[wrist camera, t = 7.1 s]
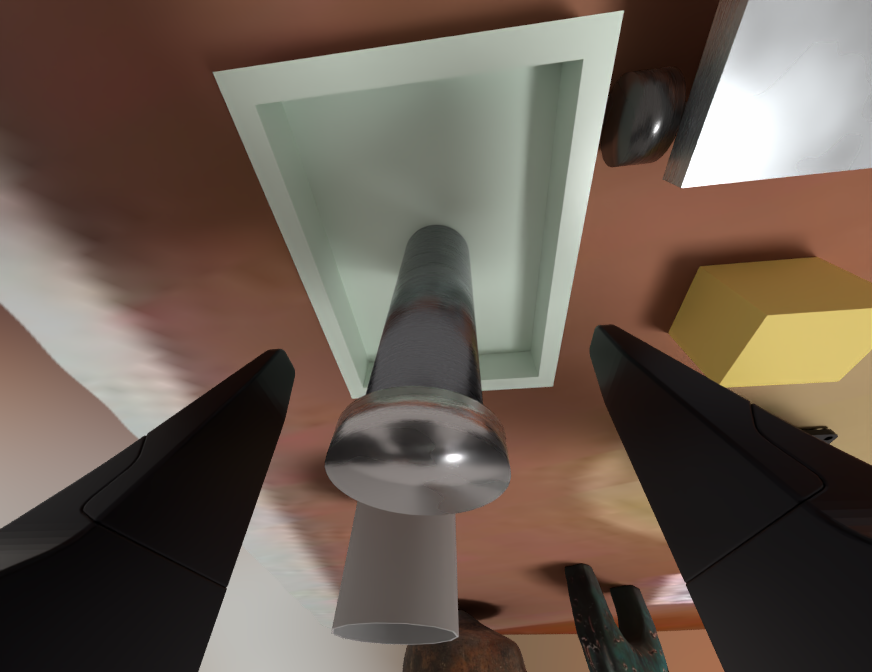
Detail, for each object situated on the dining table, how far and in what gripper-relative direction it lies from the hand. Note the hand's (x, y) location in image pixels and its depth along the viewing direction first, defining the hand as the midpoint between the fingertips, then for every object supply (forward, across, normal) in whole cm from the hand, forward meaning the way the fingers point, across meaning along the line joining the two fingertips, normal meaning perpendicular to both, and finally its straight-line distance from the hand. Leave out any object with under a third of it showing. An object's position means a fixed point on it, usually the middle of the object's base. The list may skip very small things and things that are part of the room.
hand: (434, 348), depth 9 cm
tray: (+7, 0, 0) cm, 7 cm away
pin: (+6, 0, 0) cm, 6 cm away
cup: (+7, +5, +22) cm, 24 cm away
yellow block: (+7, -14, +4) cm, 17 cm away
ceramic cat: (+7, -19, +54) cm, 58 cm away
